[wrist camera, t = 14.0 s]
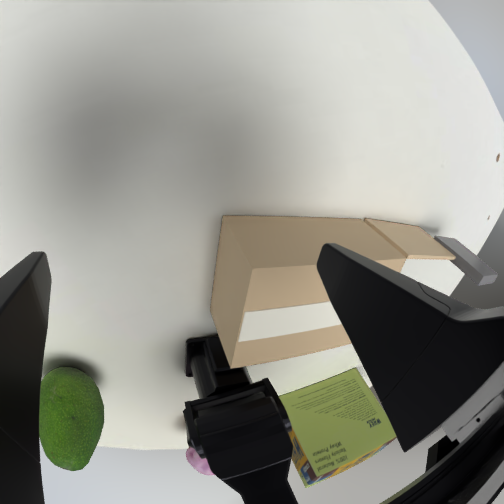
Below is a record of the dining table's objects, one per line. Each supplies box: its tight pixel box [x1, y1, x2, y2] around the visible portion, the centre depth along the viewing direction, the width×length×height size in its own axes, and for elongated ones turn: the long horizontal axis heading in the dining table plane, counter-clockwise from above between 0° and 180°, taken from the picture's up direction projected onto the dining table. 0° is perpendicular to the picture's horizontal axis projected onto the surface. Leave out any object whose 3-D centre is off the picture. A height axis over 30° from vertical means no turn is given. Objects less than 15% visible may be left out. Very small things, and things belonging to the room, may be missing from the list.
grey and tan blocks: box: [364, 218, 498, 286], centre depth 27 cm, size 15×1×11 cm, turn 75°
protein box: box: [279, 368, 397, 488], centre depth 43 cm, size 10×15×16 cm
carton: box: [210, 216, 407, 369], centre depth 26 cm, size 10×14×7 cm
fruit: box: [39, 367, 104, 471], centre depth 23 cm, size 8×8×12 cm
